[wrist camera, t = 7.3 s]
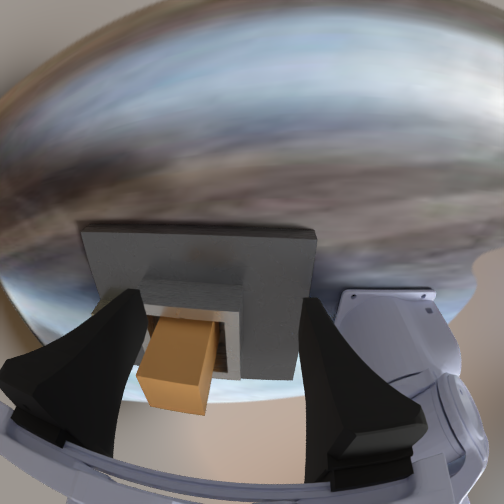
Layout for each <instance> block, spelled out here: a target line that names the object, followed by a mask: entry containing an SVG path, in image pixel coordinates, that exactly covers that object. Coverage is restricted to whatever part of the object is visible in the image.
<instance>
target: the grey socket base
mask: <svg viewBox="0 0 504 504" xmlns="http://www.w3.org/2000/svg"><path fill="white" fill-rule="evenodd" d="M81 236H82V240H83V243H84V247H85V251H86V254H87V258H88V261H89V265H90V268H91V271H92V275H93V278H94V281H95V284H96V287H97V290H98V293H99V296H100V299H101V300H100V301H99V303H98V304H97V306H96V307H95V309H94V310H93V312H92V313H91V314H92V316H93V315H94V314H96V313H97V312H98V311H99V310H101V309H102V308H103V307H104V306H106V305H107V304H108V303H109V302H111V301H112V300H113V299H114V298H116V297H117V296H118V295H120V294H121V293H122V292H124V291H125V290H126V289H139V290H140V294H141V297H142V301H143V304H144V308H145V311H146V315H147V318H148V321H149V324H148V328H147V332H146V335H145V339H144V342H143V344H142V347H141V349H140V351H139V354H138V356H137V358H136V361H135V363H134V365H138V366H140V363H141V361H142V359H143V356H144V354H145V351H146V349H147V346H148V344H149V342H150V339H151V337H152V335H153V332H154V330H155V327H156V325H157V323H158V321H159V318H160V316H162V317H172V318H182V319H192V320H204V321H217V322H219V330H220V338H219V343H218V348H217V353H216V358H215V363H214V369H213V374H212V378H216V379H227V380H241V378H243V379H261V380H293V376H294V371H295V367H296V362H297V357H298V352H299V341H298V330H299V323H300V317H301V310H302V303H303V297H309V292H310V286H311V280H312V273H313V267H314V260H315V253H316V246H317V237H316V234H315V230H301V229H280V228H257V227H230V226H197V225H150V224H89V225H88V226H87V227H86V228H85V229H83V230H82V231H81Z"/></svg>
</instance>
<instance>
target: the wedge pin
mask: <svg viewBox="0 0 504 504" xmlns="http://www.w3.org/2000/svg"><path fill="white" fill-rule="evenodd" d="M219 338H220V330H219V322H217V321H204V320H192V319H182V318H172V317H162V316H160V318H159V321H158V323H157V325H156V327H155V330H154V332H153V335H152V337H151V339H150V342H149V344H148V346H147V349H146V351H145V354H144V356H143V359H142V361H141V363H140V366H139V368H138V371H137V373H136V377H137V379H138V382H139V384H140V386H141V388H142V390H143V392H144V394H145V397H146V399H147V401H148V403H149V405H150V406H151V407H156V408H161V409H166V410H171V411H177V412H184V413H189V414H196V415H203V416H205V411H206V405H207V400H208V395H209V390H210V384H211V379H212V374H213V369H214V363H215V358H216V353H217V348H218V343H219Z"/></svg>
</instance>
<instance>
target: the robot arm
mask: <svg viewBox="0 0 504 504" xmlns="http://www.w3.org/2000/svg"><path fill="white" fill-rule="evenodd" d="M354 294H355V296H352V295H354ZM423 294H424V295H423ZM422 295H423V296H422ZM435 297H436V292H435V291H434V290H353V289H348V290H345V291H343V292H342V295H341V299H340V303H339V307H338V311H337V314H336V318H335V322H334V323H333V321H332V320H331V318H330V317H329V315H328V314H327V312H326V310H325V309H324V307H323V305H322V303H321V301H320V300H319V299H318V298H309V297H303V303H302V310H301V317H300V323H299V330H298V341H299V356H300V363H301V370H302V377H303V384H304V391H305V400H306V464H305V481H304V484H246V483H233V482H222V481H213V480H206V479H199V478H192V477H186V476H180V475H175V474H170V473H165V472H161V471H156V470H152V469H148V468H144V467H140V466H136V465H133V464H129V463H126V462H123V461H119V460H116V459H113V449H114V439H115V431H116V424H117V419H118V413H119V409H120V404H121V400H122V396H123V393H124V389H125V385H126V383H127V380H128V377H129V375H130V372H131V370H132V368H133V365H134V363H135V361H136V358H137V356H138V354H139V351H140V349H141V347H142V344H143V342H144V339H145V335H146V332H147V328H148V324H149V321H148V318H147V315H146V311H145V308H144V304H143V301H142V297H141V294H140V290H139V289H126V290H125V291H124V292H122V293H121V294H120V295H118V296H117V297H116V298H114V299H113V300H112V301H111V302H109V303H108V304H107V305H106V306H104V307H103V308H102V309H101V310H99V311H98V312H97V313H96V314H94V315H93V316H92V317H90V318H89V319H88V320H86V321H85V322H84V323H82V324H81V325H80V326H78V327H77V328H75V329H74V330H72V331H71V332H69V333H67V334H66V335H64V336H63V337H61V338H59V339H57V340H55V341H53V342H51V343H49V344H47V345H46V346H43V347H41V348H39V349H37V350H34V351H32V352H29V353H27V354H24V355H21V356H17V357H14V358H11V359H7V360H6V361H5V363H4V365H3V366H2V368H1V369H0V389H1V390H2V391H3V392H4V393H5V395H6V396H7V397H8V398H9V399H10V400H11V401H12V402H13V403H14V404H15V405H16V408H15V410H13V409H12V408H10V407H9V406H7V405H6V404H4V403H2V402H1V401H0V455H2V456H3V457H4V458H6V459H7V460H8V461H10V462H11V463H12V464H14V465H15V466H17V467H18V468H20V469H21V470H23V471H24V472H26V473H27V474H29V475H30V476H32V477H33V478H35V479H37V480H38V481H40V482H42V483H43V484H45V485H47V486H48V487H50V488H52V489H54V490H56V491H57V492H59V493H61V494H63V495H65V496H67V497H68V498H67V502H66V504H202V503H197V502H191V501H187V500H182V499H177V498H173V497H168V496H164V495H160V494H156V493H152V492H148V491H144V490H141V489H137V488H134V487H130V486H127V485H123V484H120V483H117V482H116V481H114V480H112V479H111V478H110V477H109V476H108V475H105V474H103V473H106V474H109V475H112V476H115V477H118V478H121V479H124V480H127V481H130V482H134V483H137V484H141V485H144V486H148V487H152V488H156V489H160V490H165V491H169V492H174V493H179V494H184V495H190V496H196V497H203V498H210V499H218V500H228V501H240V502H260V503H252V504H470V501H469V498H468V495H467V494H468V492H469V491H470V490H471V488H472V487H473V486H474V484H475V483H476V482H477V480H478V479H479V477H480V476H481V474H482V473H483V471H484V469H485V468H486V465H487V461H488V455H489V444H488V440H487V437H486V434H485V432H484V429H483V425H482V421H481V418H480V415H479V412H478V410H477V407H476V405H475V403H474V400H473V398H472V397H471V394H470V393H469V391H468V389H467V387H466V386H465V384H464V383H463V382H462V380H461V379H460V378H459V375H460V371H461V353H460V349H459V345H458V343H457V341H456V339H455V337H454V335H453V333H452V332H451V330H450V328H449V327H448V325H447V323H446V321H445V319H444V318H443V316H442V314H441V313H440V311H439V309H438V308H437V306H436V304H435V303H434V299H435ZM92 468H93V469H92ZM94 469H95V470H94ZM97 470H98V471H97ZM99 471H101V472H103V473H101V472H99Z"/></svg>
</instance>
